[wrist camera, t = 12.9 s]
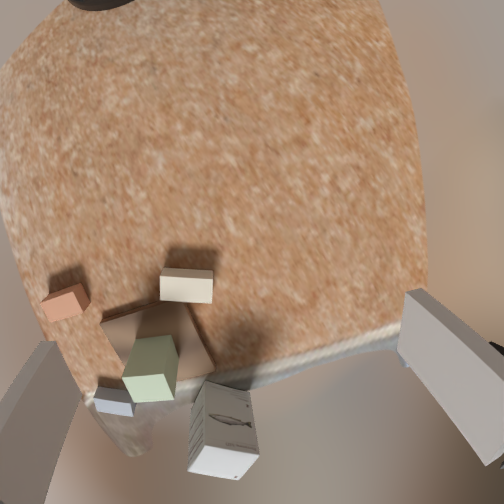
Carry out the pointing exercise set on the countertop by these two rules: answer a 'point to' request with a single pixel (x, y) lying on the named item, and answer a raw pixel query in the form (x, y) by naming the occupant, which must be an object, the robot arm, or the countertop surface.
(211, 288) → the cream brick
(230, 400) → the supplement box
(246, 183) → the countertop surface
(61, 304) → the terracotta brick
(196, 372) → the walnut board
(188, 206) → the countertop surface
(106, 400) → the slate brick
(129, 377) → the sage brick
